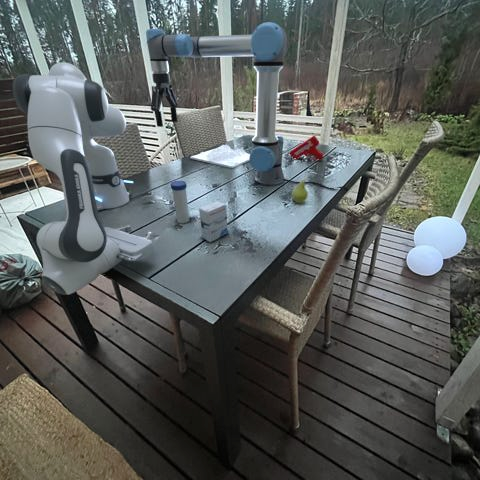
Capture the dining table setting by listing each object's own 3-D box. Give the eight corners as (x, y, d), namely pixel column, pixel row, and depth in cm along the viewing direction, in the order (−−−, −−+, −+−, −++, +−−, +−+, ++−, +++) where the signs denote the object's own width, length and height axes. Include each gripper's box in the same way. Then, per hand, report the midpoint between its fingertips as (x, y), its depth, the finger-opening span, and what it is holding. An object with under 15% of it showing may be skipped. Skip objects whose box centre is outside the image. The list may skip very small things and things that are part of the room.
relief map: (232, 168, 162) (231, 159, 159) (190, 158, 179) (189, 150, 177) (257, 157, 180) (257, 149, 177) (217, 149, 198) (217, 142, 195)
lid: (180, 191, 97) (180, 187, 96) (168, 189, 99) (167, 184, 98) (189, 186, 102) (189, 181, 101) (177, 183, 104) (176, 179, 103)
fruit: (288, 200, 123) (290, 174, 116) (302, 197, 125) (305, 172, 119) (296, 206, 118) (299, 179, 111) (310, 203, 120) (314, 177, 114)
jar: (184, 224, 105) (179, 187, 97) (174, 221, 107) (168, 185, 99) (192, 218, 109) (187, 183, 101) (181, 216, 111) (176, 181, 103)
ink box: (219, 228, 102) (217, 199, 95) (228, 233, 99) (227, 204, 92) (201, 237, 97) (198, 207, 90) (210, 242, 94) (207, 212, 87)
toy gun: (327, 155, 171) (315, 134, 168) (326, 157, 168) (314, 136, 164) (302, 170, 182) (290, 151, 178) (301, 172, 178) (289, 152, 174)
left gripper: (130, 253, 72) (164, 229, 82) (78, 235, 80) (116, 216, 90) (135, 271, 75) (167, 246, 86) (85, 253, 83) (120, 232, 94)
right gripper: (167, 72, 132) (173, 119, 143) (136, 73, 112) (146, 128, 123) (181, 72, 130) (186, 120, 141) (151, 73, 110) (160, 129, 121)
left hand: (140, 230), depth 88 cm, fingers open, 8 cm apart
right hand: (167, 124), depth 132 cm, fingers open, 13 cm apart
